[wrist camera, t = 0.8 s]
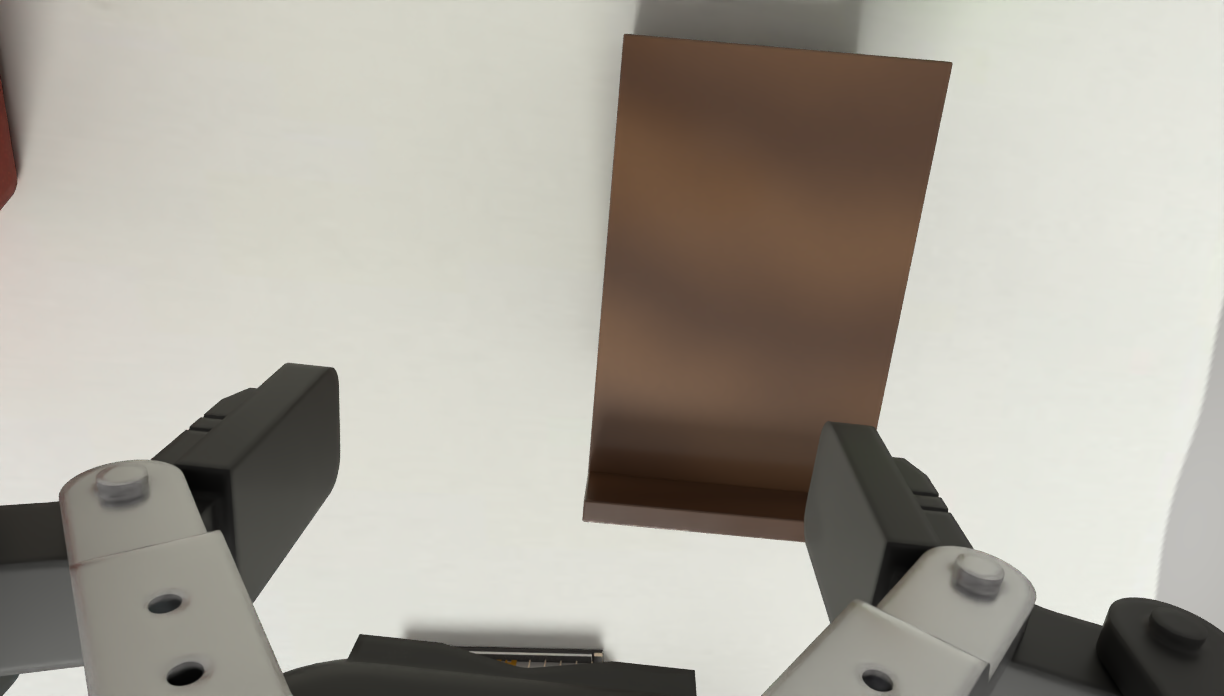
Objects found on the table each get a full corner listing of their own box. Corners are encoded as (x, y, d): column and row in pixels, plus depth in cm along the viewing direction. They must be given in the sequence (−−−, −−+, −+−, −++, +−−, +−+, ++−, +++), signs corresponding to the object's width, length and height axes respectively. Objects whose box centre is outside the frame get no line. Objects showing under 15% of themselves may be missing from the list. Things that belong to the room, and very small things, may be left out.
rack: (632, 39, 35) (621, 31, 22) (855, 59, 35) (979, 62, 22) (604, 368, 40) (582, 521, 27) (800, 386, 40) (873, 549, 27)
